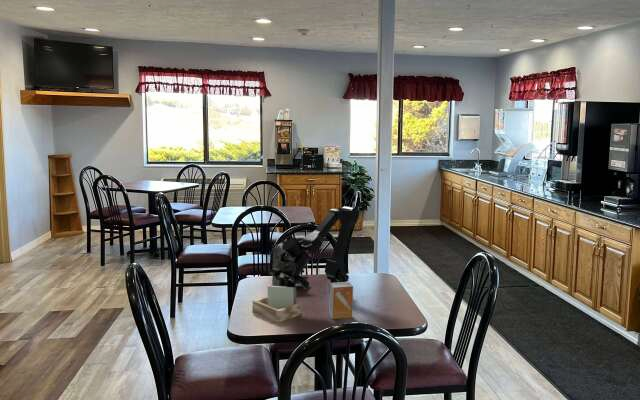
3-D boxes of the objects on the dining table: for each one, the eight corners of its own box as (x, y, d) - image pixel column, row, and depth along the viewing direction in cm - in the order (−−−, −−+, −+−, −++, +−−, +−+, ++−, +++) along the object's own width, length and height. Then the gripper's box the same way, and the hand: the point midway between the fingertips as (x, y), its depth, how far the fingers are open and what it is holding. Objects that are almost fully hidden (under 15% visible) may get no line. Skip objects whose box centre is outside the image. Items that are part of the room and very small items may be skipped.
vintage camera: (304, 291, 247) (306, 248, 244) (271, 288, 250) (272, 245, 247) (309, 285, 256) (311, 244, 253) (277, 282, 259) (278, 241, 256)
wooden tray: (275, 304, 229) (275, 294, 228) (301, 314, 218) (301, 303, 217) (252, 311, 221) (252, 300, 220) (278, 322, 209) (278, 311, 209)
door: (268, 308, 221) (268, 285, 219) (296, 310, 219) (296, 287, 217) (267, 309, 220) (267, 286, 218) (295, 311, 218) (295, 288, 216)
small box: (332, 319, 213) (333, 287, 211) (328, 313, 219) (329, 282, 217) (352, 318, 214) (353, 286, 212) (348, 312, 221) (348, 281, 219)
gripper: (272, 249, 227) (252, 280, 221) (303, 257, 214) (282, 291, 208) (287, 263, 234) (267, 294, 228) (318, 272, 221) (298, 305, 215)
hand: (278, 296), depth 220 cm, fingers closed
